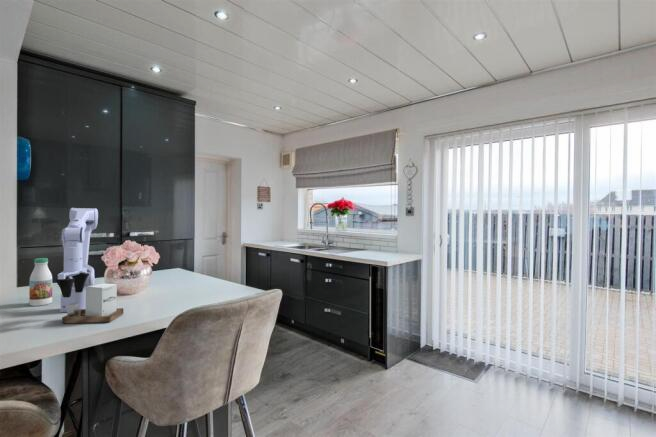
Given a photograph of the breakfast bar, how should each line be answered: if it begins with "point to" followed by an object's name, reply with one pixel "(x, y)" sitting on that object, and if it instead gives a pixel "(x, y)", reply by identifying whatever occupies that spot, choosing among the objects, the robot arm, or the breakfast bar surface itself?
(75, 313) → the wooden serving tray
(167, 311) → the breakfast bar surface
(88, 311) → the supplement box
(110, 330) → the breakfast bar surface
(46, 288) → the milk bottle
